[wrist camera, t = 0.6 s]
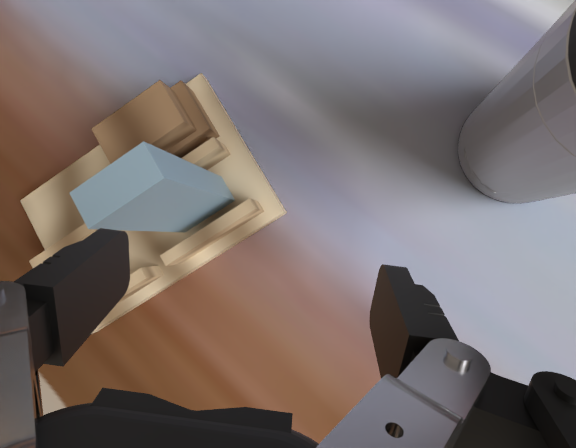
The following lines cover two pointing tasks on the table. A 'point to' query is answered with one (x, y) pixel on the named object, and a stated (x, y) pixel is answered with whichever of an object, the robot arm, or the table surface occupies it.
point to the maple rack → (164, 245)
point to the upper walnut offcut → (145, 123)
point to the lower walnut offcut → (197, 117)
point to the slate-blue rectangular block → (150, 193)
